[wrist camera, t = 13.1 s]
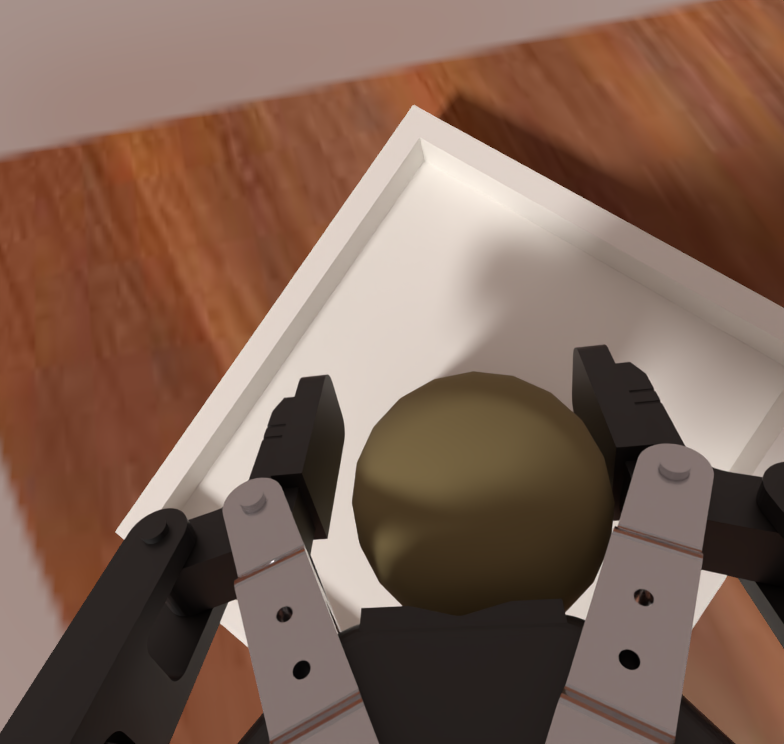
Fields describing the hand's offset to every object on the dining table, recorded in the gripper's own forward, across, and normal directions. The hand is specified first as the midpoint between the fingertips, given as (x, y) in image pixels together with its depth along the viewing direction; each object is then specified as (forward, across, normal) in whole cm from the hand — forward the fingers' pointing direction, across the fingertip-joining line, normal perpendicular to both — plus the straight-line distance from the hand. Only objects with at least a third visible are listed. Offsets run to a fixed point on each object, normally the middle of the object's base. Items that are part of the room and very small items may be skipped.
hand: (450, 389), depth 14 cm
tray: (+4, 0, +6) cm, 8 cm away
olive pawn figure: (+3, 0, +6) cm, 7 cm away
